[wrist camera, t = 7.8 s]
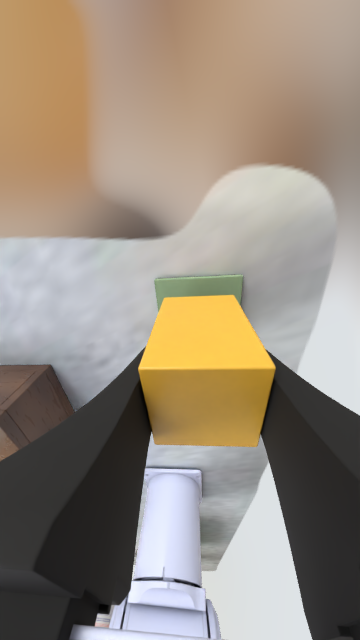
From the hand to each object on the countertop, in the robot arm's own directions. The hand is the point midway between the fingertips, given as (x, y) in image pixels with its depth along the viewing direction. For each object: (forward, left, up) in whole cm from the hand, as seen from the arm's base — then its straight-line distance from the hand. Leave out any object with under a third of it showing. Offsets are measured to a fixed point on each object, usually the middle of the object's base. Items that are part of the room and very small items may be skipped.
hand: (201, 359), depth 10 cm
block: (0, 0, -3) cm, 3 cm away
